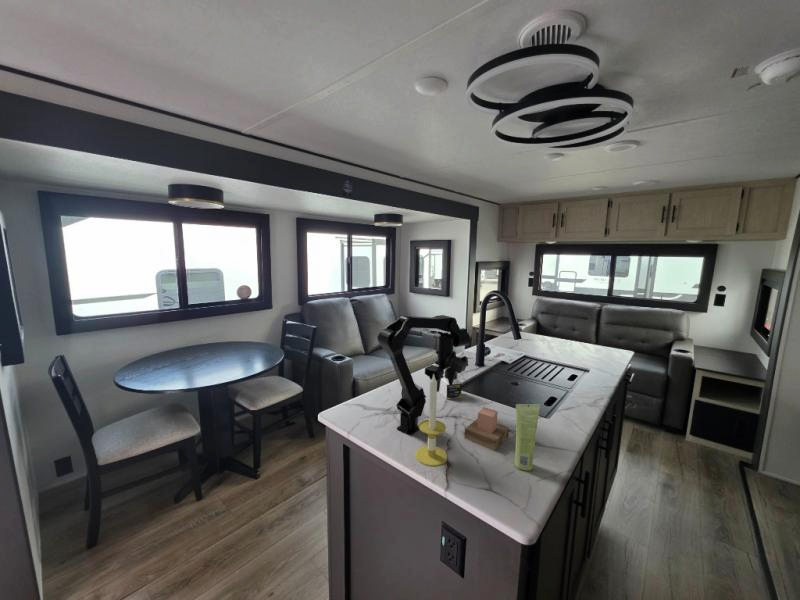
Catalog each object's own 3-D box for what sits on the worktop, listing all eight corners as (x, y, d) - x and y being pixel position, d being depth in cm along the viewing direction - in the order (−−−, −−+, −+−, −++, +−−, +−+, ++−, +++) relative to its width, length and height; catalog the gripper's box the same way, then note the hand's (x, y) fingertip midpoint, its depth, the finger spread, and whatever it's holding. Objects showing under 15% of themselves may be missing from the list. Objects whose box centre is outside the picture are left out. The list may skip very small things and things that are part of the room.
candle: (430, 443, 106) (432, 365, 103) (454, 457, 99) (457, 374, 95) (408, 454, 100) (410, 372, 96) (432, 470, 92) (434, 382, 89)
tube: (519, 457, 99) (523, 398, 97) (535, 465, 96) (540, 403, 93) (511, 466, 95) (515, 404, 92) (528, 474, 92) (533, 410, 89)
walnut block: (494, 452, 102) (495, 440, 102) (464, 439, 110) (464, 428, 109) (508, 438, 111) (509, 427, 110) (479, 427, 118) (480, 416, 117)
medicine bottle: (446, 399, 139) (447, 373, 138) (440, 393, 146) (441, 368, 145) (461, 398, 141) (462, 372, 140) (454, 391, 148) (455, 366, 147)
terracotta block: (491, 433, 106) (492, 417, 105) (477, 428, 109) (478, 412, 108) (496, 427, 110) (497, 411, 109) (483, 423, 113) (484, 407, 112)
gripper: (450, 358, 108) (448, 402, 110) (476, 348, 122) (474, 386, 124) (424, 352, 115) (423, 393, 117) (451, 342, 129) (450, 379, 131)
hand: (444, 388), depth 122 cm, fingers open, 9 cm apart
